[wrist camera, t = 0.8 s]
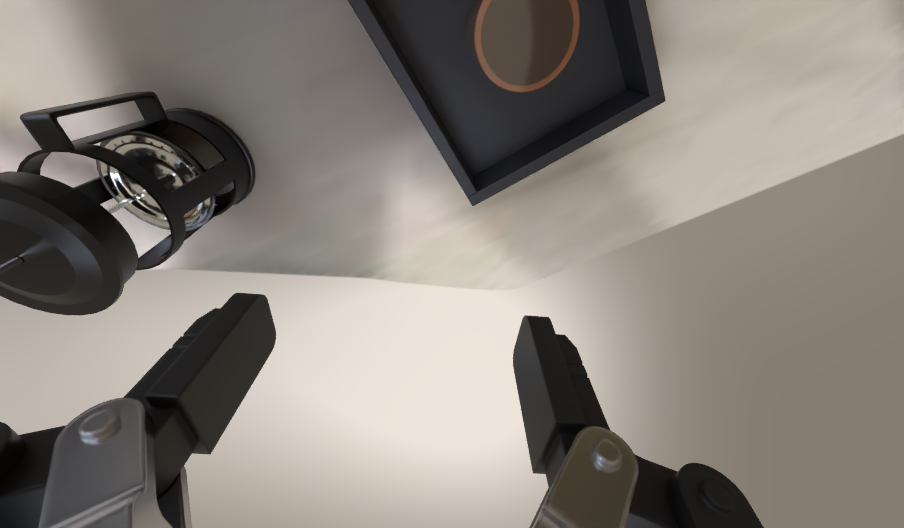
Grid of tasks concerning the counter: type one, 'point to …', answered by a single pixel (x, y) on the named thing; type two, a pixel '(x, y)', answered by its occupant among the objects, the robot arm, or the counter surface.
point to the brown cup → (522, 40)
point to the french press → (121, 177)
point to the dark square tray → (512, 113)
